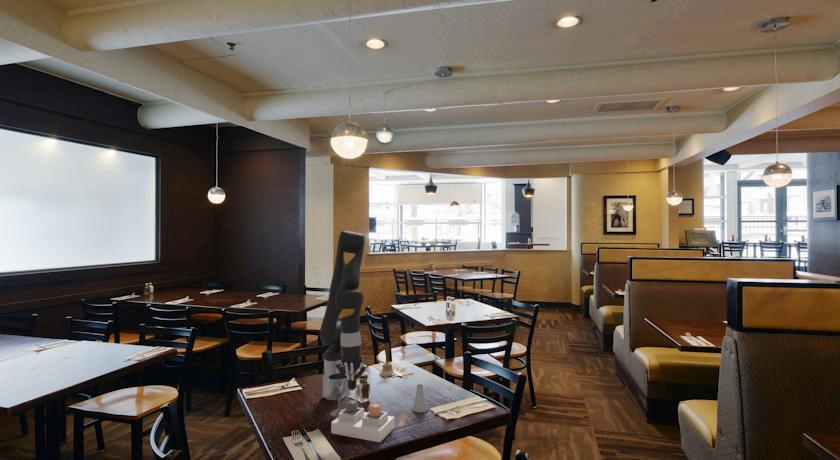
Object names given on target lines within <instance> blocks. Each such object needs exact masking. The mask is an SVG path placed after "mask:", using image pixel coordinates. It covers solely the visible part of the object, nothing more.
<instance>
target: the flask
mask: <svg viewBox="0 0 840 460" xmlns="http://www.w3.org/2000/svg"><path fill="white" fill-rule="evenodd" d="M415 388H416V392H415V397H414V400H413V403H412V406H411V411H412V412H415V413H418V414H419V413H427V412H428V411H429V406H428V403H427V400H426V397H425V395H424V384H423V383H417V384H416V385H415Z"/></svg>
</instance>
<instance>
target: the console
mask: <svg viewBox="0 0 840 460" xmlns="http://www.w3.org/2000/svg"><path fill="white" fill-rule="evenodd" d="M343 409H344V410H342V411H341V412H340V413H338V417H336V418H335V419H333V420H332V421H331V422H330V423H331V424H330V425H331V426H330V428H331V430H330V432H331V434H332V435H333V434H334V435H340V436H344V437H349V438H354V439H360V440H366V441H369V442H374V443H375V442H376V443H381V442H382V441H383V440H384V439H385V438H386V437H388V435H389V434H390V433H391V432H392V431H393V430H394V429H395V427H396V426H395V424H396V421H395V420H396V419H395V416H393V415H392V416H391V415H389V412H388V411H383V410H381V415H380V416H377V417H371V416H369V411H368V412H367V411H365V408H363V407H358V406H357V411H356V412H354V413H347V412H346V411H345V408H343Z"/></svg>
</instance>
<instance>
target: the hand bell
mask: <svg viewBox="0 0 840 460" xmlns="http://www.w3.org/2000/svg"><path fill="white" fill-rule="evenodd" d="M389 343H390V342H389ZM389 343H388V342H386V343H385V346H384V353H385V362H384V363H382V369H381V370H380V372H379V374H380V375H379V376H380V377H383V376H384V377H383V378H389V377H388V376H391V375H392V374H393V373H394V372H395V371H394V368H393V364H392V363H391V362H390V353H391V352H390V351H391V349H390V345H389ZM391 377H392V376H391Z"/></svg>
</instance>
